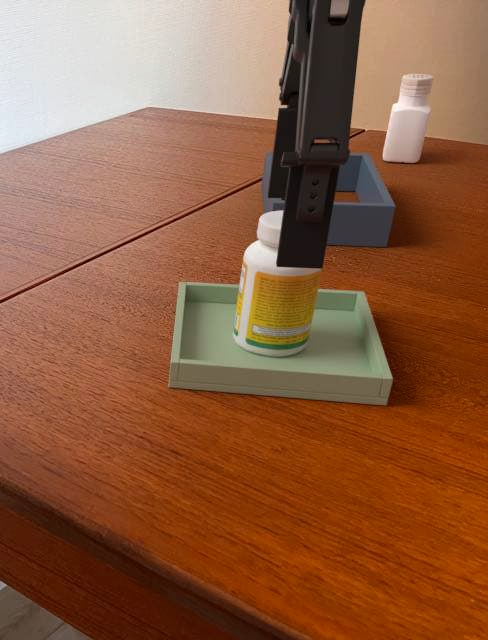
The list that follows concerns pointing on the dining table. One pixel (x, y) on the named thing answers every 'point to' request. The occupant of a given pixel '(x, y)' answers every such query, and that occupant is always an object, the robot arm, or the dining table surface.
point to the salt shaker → (408, 120)
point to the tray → (279, 372)
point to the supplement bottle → (273, 297)
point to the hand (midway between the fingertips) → (292, 228)
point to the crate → (350, 204)
